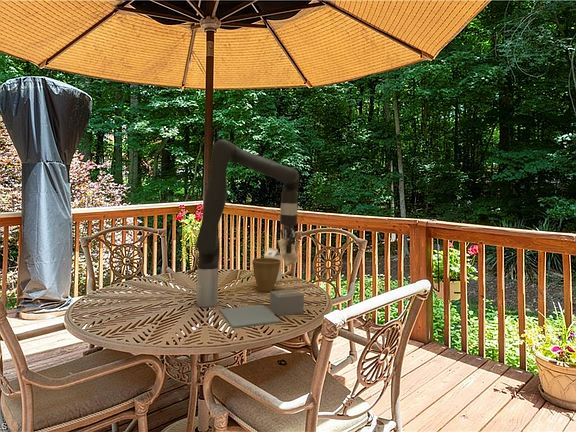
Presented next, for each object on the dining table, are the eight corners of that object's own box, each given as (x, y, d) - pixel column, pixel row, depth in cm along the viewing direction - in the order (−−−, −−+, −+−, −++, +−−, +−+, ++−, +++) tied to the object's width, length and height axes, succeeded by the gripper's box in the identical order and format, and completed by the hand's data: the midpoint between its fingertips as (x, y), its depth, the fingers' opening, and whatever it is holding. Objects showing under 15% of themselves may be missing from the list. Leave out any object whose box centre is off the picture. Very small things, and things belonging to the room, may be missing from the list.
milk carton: (271, 278, 238) (272, 246, 237) (280, 280, 234) (281, 248, 232) (263, 280, 233) (264, 248, 231) (272, 283, 228) (273, 249, 227)
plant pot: (279, 294, 206) (280, 263, 205) (250, 293, 207) (250, 262, 205) (280, 286, 221) (281, 257, 220) (253, 285, 222) (253, 257, 220)
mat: (232, 328, 158) (232, 326, 158) (219, 311, 178) (219, 309, 178) (280, 322, 166) (280, 320, 166) (262, 306, 186) (262, 304, 186)
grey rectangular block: (277, 315, 174) (278, 296, 173) (269, 308, 183) (270, 290, 182) (303, 312, 178) (303, 293, 178) (294, 306, 188) (294, 287, 187)
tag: (286, 266, 178) (278, 241, 175) (285, 265, 180) (277, 241, 177) (298, 261, 180) (290, 236, 177) (297, 260, 182) (289, 235, 179)
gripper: (275, 212, 182) (274, 250, 183) (287, 215, 169) (285, 256, 171) (290, 212, 185) (289, 249, 186) (303, 214, 172) (302, 255, 174)
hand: (287, 252), depth 178 cm, fingers closed on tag, 1 cm apart
